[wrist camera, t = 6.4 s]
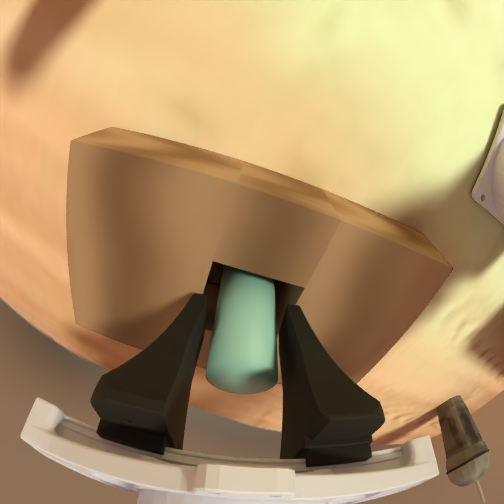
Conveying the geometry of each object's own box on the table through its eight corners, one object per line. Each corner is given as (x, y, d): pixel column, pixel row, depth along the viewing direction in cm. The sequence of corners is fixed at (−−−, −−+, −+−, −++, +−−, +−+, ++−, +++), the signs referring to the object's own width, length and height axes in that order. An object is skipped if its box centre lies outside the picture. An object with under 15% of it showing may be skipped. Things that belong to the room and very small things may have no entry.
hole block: (422, 234, 16) (453, 268, 12) (339, 353, 22) (347, 392, 18) (111, 126, 13) (70, 140, 10) (99, 288, 19) (76, 324, 15)
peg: (277, 246, 17) (285, 362, 10) (269, 284, 18) (271, 396, 12) (226, 239, 16) (205, 355, 10) (223, 278, 18) (205, 389, 12)
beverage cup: (420, 418, 32) (444, 521, 15) (449, 393, 28) (482, 507, 11) (448, 412, 32) (473, 505, 15) (475, 388, 29) (508, 487, 12)
